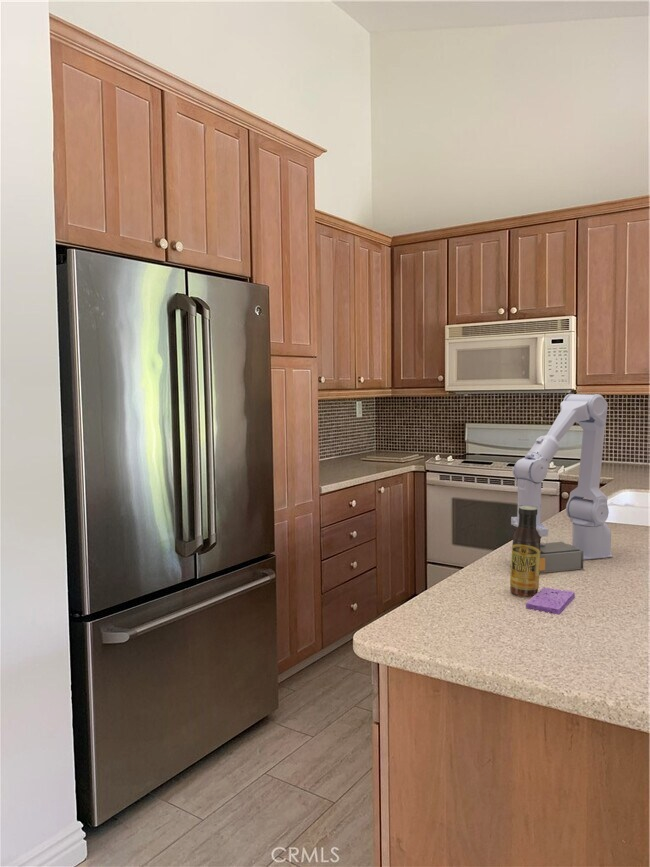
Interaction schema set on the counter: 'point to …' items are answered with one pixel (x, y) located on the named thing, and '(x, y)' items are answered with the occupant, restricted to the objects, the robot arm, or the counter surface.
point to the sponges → (550, 600)
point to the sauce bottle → (525, 554)
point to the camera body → (556, 548)
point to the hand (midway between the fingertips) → (528, 558)
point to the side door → (561, 561)
